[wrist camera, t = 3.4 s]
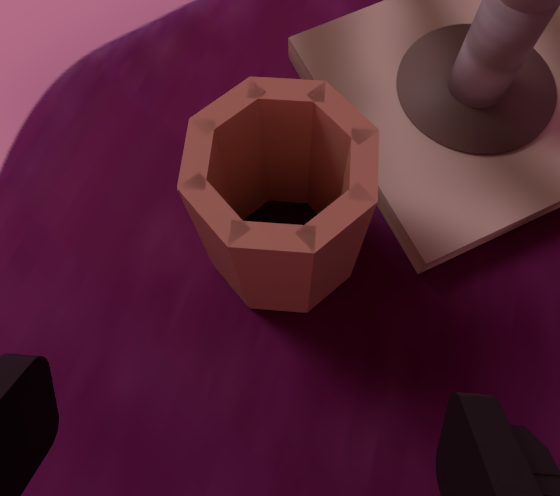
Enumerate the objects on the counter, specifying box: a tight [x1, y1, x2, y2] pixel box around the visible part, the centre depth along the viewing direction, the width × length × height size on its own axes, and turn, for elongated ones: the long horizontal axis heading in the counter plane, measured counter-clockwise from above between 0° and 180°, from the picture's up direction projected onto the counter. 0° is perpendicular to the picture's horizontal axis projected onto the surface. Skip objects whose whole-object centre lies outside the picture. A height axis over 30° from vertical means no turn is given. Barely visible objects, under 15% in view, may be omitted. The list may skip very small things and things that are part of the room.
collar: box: [177, 77, 379, 313], centre depth 20 cm, size 6×6×8 cm
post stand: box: [288, 0, 560, 274], centre depth 22 cm, size 14×14×9 cm
